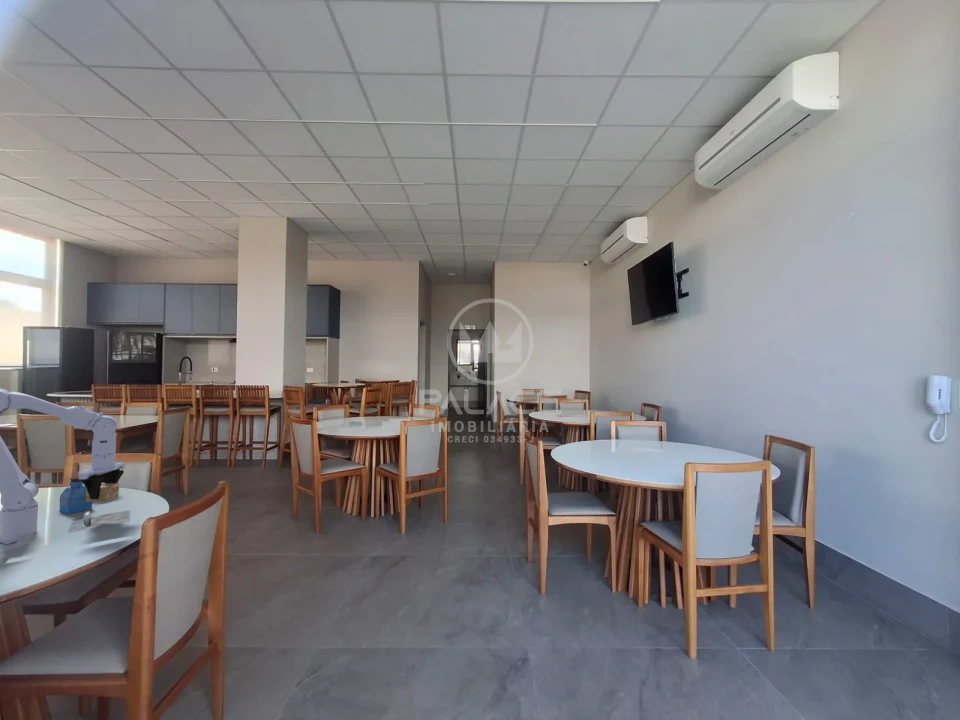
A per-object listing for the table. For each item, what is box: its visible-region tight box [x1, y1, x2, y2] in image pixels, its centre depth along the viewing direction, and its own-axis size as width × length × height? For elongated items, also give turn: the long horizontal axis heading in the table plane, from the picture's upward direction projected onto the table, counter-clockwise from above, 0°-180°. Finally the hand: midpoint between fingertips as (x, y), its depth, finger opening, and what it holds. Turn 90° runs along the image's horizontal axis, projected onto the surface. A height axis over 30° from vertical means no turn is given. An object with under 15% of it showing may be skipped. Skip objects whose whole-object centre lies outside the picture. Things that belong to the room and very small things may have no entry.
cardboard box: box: [86, 482, 120, 503], centre depth 134 cm, size 5×6×5 cm
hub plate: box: [67, 509, 131, 533], centre depth 133 cm, size 14×13×4 cm
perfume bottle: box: [59, 476, 93, 515], centre depth 143 cm, size 6×6×12 cm
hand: (102, 496), depth 134 cm, fingers closed on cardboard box, 5 cm apart
